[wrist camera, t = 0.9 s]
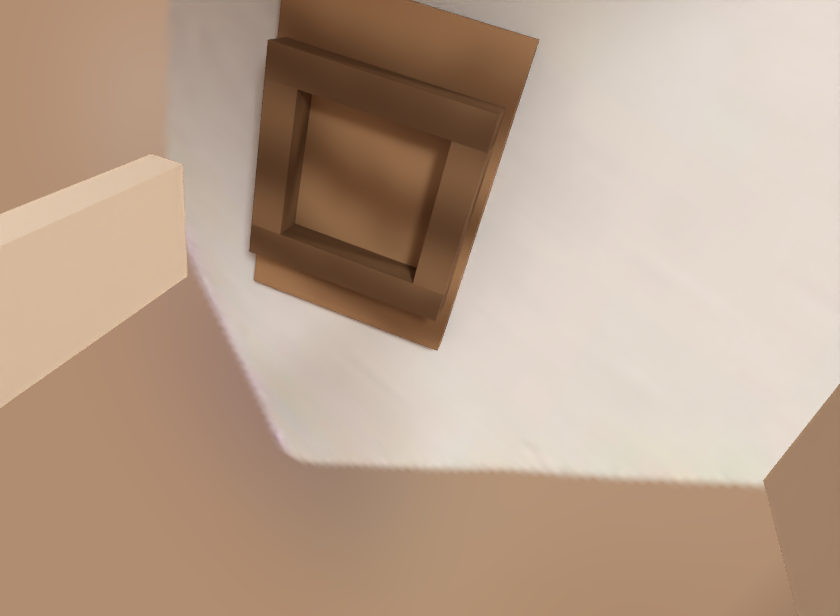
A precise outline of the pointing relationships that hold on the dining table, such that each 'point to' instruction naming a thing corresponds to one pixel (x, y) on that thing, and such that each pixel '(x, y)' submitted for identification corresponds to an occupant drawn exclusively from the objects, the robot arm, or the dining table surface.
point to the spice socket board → (380, 155)
